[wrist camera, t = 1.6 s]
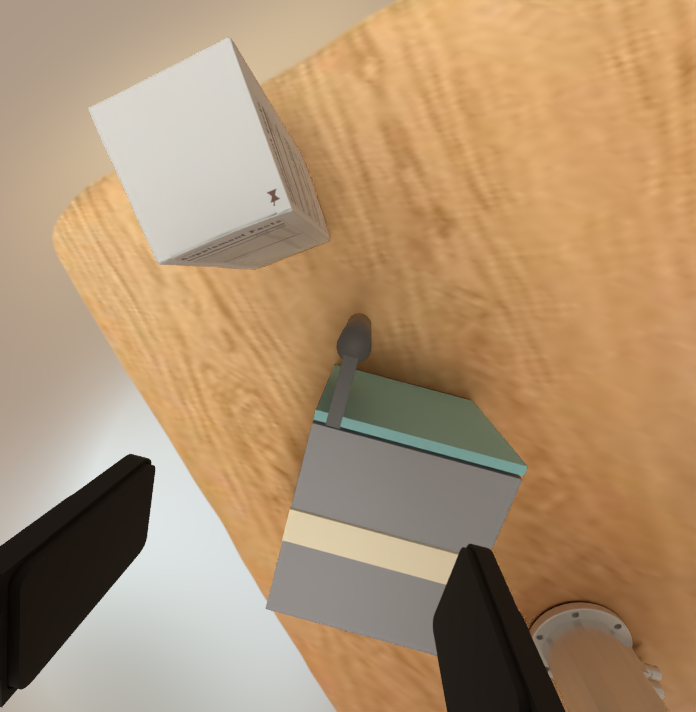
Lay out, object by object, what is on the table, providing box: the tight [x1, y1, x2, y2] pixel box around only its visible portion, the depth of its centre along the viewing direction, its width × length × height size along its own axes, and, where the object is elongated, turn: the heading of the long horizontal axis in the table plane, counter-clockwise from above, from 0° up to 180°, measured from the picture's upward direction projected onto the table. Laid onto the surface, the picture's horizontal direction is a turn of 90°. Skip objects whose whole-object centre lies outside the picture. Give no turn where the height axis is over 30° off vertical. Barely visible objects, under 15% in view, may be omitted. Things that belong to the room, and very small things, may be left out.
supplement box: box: [88, 37, 330, 270], centre depth 27 cm, size 10×9×17 cm
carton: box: [266, 420, 522, 656], centre depth 33 cm, size 16×18×14 cm
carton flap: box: [313, 313, 528, 476], centre depth 29 cm, size 16×8×16 cm, turn 76°
